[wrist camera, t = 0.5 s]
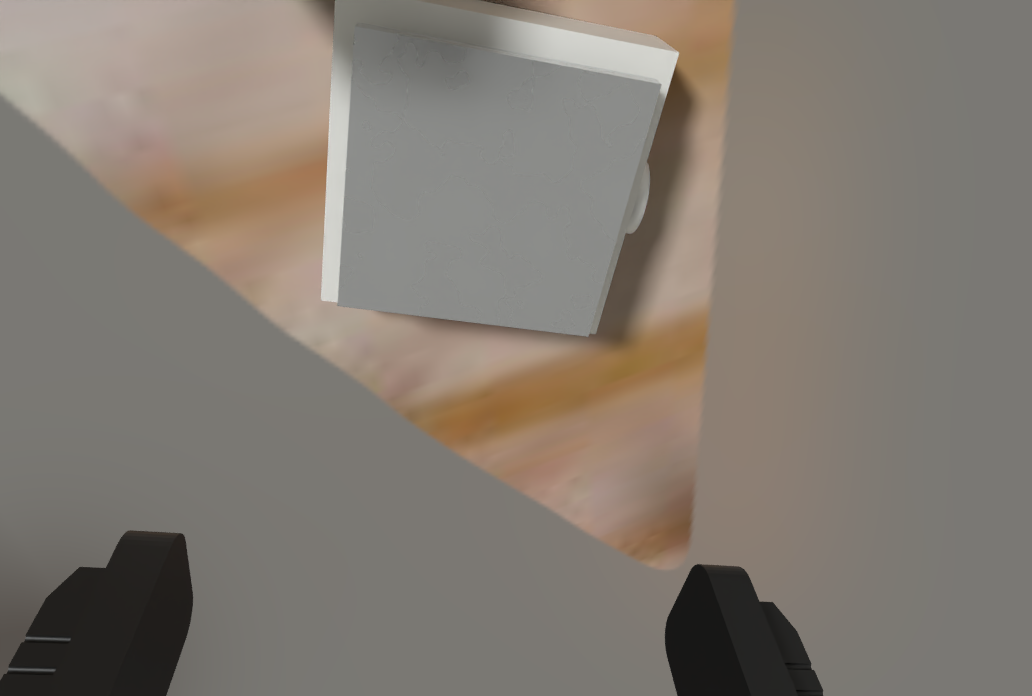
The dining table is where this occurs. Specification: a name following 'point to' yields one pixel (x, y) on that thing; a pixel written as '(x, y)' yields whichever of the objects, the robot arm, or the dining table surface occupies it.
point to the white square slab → (464, 17)
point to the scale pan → (485, 180)
